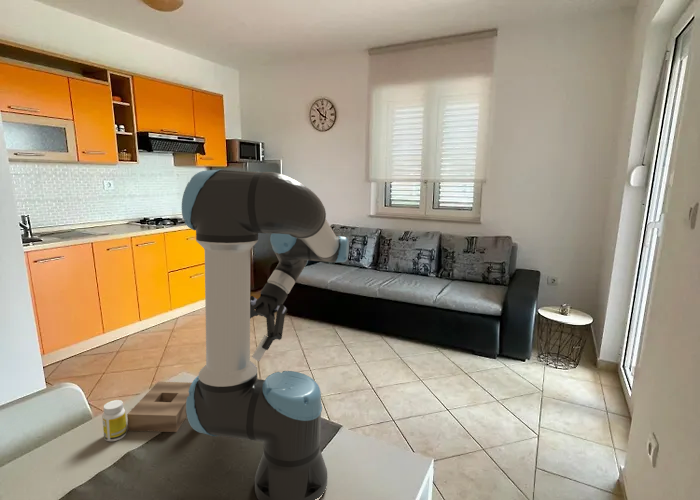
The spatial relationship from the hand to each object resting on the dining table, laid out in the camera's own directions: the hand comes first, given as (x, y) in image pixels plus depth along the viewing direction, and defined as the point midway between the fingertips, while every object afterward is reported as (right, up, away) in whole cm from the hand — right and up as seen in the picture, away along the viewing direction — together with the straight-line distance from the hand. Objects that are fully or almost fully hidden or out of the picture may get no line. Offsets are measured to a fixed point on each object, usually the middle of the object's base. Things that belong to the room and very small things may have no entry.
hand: (238, 352), depth 107 cm
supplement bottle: (-27, -17, -13) cm, 34 cm away
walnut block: (-19, -16, -3) cm, 25 cm away
